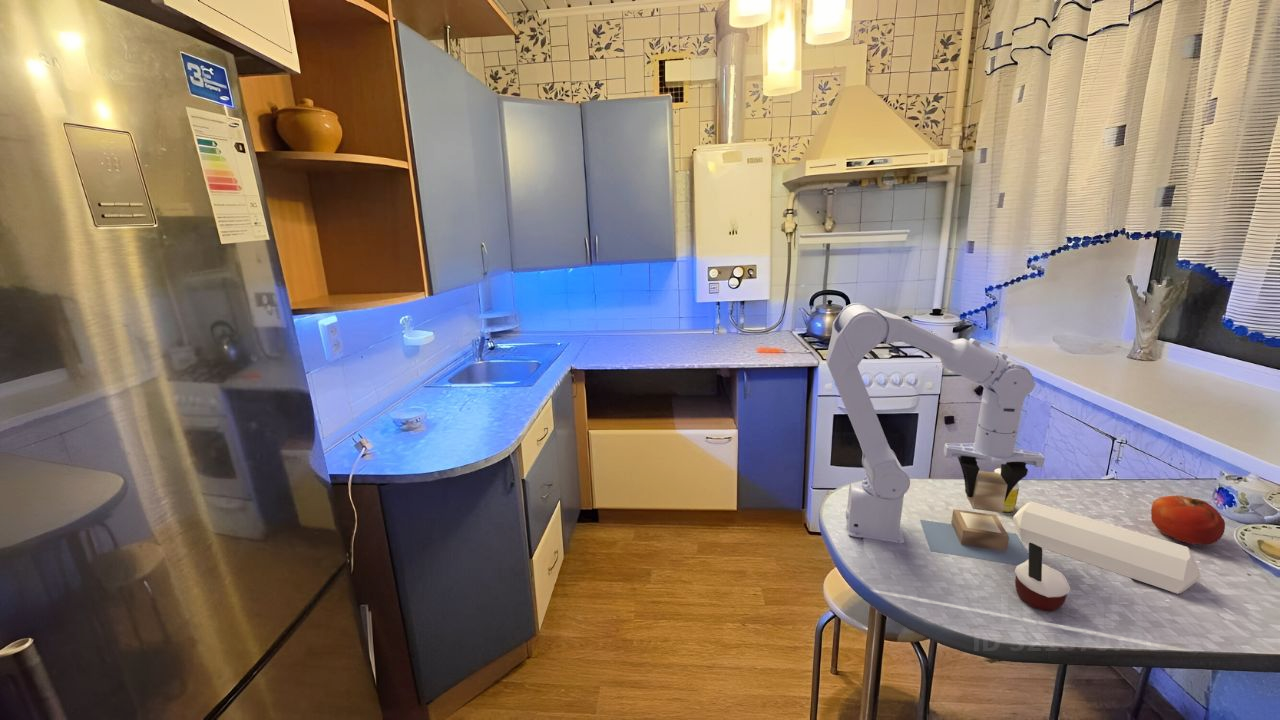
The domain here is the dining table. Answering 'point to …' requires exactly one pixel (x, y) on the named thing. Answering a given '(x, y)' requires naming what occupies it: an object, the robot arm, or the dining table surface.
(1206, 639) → the dining table surface
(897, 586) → the dining table surface
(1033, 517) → the crystal
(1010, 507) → the supplement bottle
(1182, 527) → the tomato
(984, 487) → the maple block
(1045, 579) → the cocoa
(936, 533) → the board
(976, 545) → the walnut base block
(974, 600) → the dining table surface
